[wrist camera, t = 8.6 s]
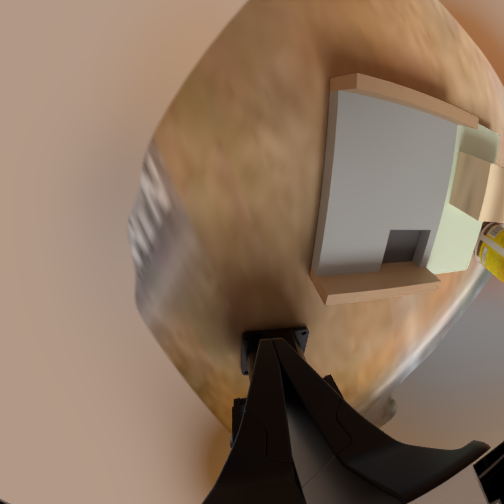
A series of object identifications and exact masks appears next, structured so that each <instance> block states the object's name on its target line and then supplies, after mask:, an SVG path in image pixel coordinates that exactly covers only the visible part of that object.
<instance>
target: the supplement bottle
mask: <svg viewBox="0 0 504 504" xmlns="http://www.w3.org/2000/svg"><path fill="white" fill-rule="evenodd" d="M474 252H475V258H476V260H477V261H478V262H479V263H480V264H482V265H483V266H484V267H485V268H487V269H488V270H489V271H490V272H491V273H492V274H494V275H495V276H496V277H497V278H498V279H499V280H501V281H502V282H503V283H504V228H503V227H501V226H500V225H498V224H496V223H493V222H492V223H489V224H487V225H486V226H485V227H484V228H483V229H482V231H481V232H480V234H479V237H478V240H477V243H476V246H475V251H474Z"/></svg>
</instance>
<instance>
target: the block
mask: <svg viewBox="0 0 504 504" xmlns="http://www.w3.org/2000/svg"><path fill="white" fill-rule="evenodd" d="M449 204H451V205H452V206H454V207H456V208H458V209H459V210H461V211H463V212H464V213H466V214H468V215H469V216H471V217H473V218H474V219H476V220H477V221H485V222H498V223H504V168H503V167H501V166H499V165H496V164H494V163H491V162H488V161H486V160H483V159H480V158H478V157H475V156H472V155H469V154H466V153H463V152H460V151H458V158H457V164H456V170H455V176H454V181H453V186H452V191H451V196H450V200H449Z"/></svg>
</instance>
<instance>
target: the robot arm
mask: <svg viewBox="0 0 504 504" xmlns="http://www.w3.org/2000/svg"><path fill="white" fill-rule="evenodd" d="M308 334H309V330H308V328H307V327H297V328H287V329H276V330H264V331H251V332H244V333H243V334H242V374H243V375H249V379H250V387H249V391H248V395H247V398H242V399H240V398H237V399H234V406H233V407H232V435H231V440H230V446H231V448H232V449H231V451H230V453H229V456H228V458H227V460H226V462H225V465H224V467H223V469H222V471H221V473H220V475H219V477H218V479H217V481H216V483H215V485H214V486H213V488H212V489H211V491H210V492H209V494H208V495H207V497H206V498H205V500H204V501H203V503H202V504H504V441H503V442H502V443H500V444H499V445H498V446H497V447H495V448H494V449H493V450H492V451H490V452H489V453H488V454H486V455H485V456H484V457H483V458H481V459H480V460H479V461H477V462H476V463H475V464H473V465H472V463H473V462H474V461H475V460H477V459H478V458H479V457H480V456H482V455H483V454H484V453H485V452H487V451H488V450H489V449H490V448H491V447H490V446H489V445H488V444H486V443H484V442H481V441H476V440H473V441H471V442H470V443H468V444H467V445H466V446H464V447H462V448H460V449H456V450H444V449H435V448H426V447H420V446H414V445H408V444H404V443H401V442H399V441H396V440H395V439H393V438H391V437H390V436H389V435H387V434H385V433H384V432H383V431H382V430H380V429H379V428H378V427H376V426H375V425H373V424H372V423H371V422H369V421H368V420H367V419H365V418H364V417H363V416H362V415H360V414H359V413H358V412H357V411H356V410H355V409H353V408H352V407H351V406H350V405H349V404H348V403H347V402H346V401H345V400H344V398H343V396H342V394H341V393H340V391H339V389H338V387H337V385H336V383H335V382H334V380H333V378H332V376H331V374H330V375H327V376H325V377H324V378H322V377H321V376H320V375H319V374H318V373H317V372H316V371H315V370H314V369H313V368H312V367H311V366H310V365H309V364H308V363H307V362H306V359H305V356H304V351H305V347H306V343H307V339H308ZM0 504H9V503H7V502H5V501H3V500H1V499H0Z"/></svg>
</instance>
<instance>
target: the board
mask: <svg viewBox="0 0 504 504" xmlns="http://www.w3.org/2000/svg"><path fill="white" fill-rule="evenodd" d="M478 122H479V118H478V117H476V116H474V115H472V114H470V113H468V112H466V111H464V110H462V109H459V108H457V107H455V106H453V105H451V104H449V103H446V102H444V101H442V100H439V99H437V98H434V97H432V96H429V95H427V94H424V93H422V92H419V91H416V90H413V89H411V88H408V87H405V86H402V85H399V84H396V83H392V82H389V81H386V80H382V79H379V78H375V77H372V76H368V75H364V74H360V73H353V74H348V75H343V76H338V77H334V78H330V93H329V111H328V126H327V139H326V151H325V162H324V172H323V182H322V191H321V200H320V208H319V216H318V223H317V231H316V238H315V245H314V252H313V258H312V265H311V271H310V278H311V280H312V282H313V284H314V286H315V287H316V289H317V291H318V293H319V295H320V297H321V299H322V301H323V302H324V304H325V306H328V305H337V304H346V303H354V302H362V301H370V300H377V299H385V298H392V297H398V296H405V295H411V294H417V293H423V292H429V291H435V290H437V289H438V287H439V284H440V282H441V281H440V280H439V279H438V278H437V277H436V276H435V275H434V274H440V273H447V272H455V271H462V270H467V268H468V265H469V263H470V260H471V257H472V254H473V251H474V249H475V246H476V243H477V240H478V237H479V233H480V230H481V227H482V223H483V221H477V220H476V219H474V218H473V217H471V216H469V215H468V214H466V213H464V212H463V211H461V210H459V209H458V208H456V207H454V206H452V205H451V204H449V200H450V196H451V191H452V186H453V181H454V176H455V170H456V164H457V158H458V151H460V152H463V153H466V154H469V155H472V156H475V157H478V158H480V159H483V160H486V161H488V162H491V163H494V164H496V160H497V153H498V145H499V136H500V135H499V134H497V133H495V132H493V131H491V130H490V129H488V128H486V127H484V126H482V125H480V124H478Z"/></svg>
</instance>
